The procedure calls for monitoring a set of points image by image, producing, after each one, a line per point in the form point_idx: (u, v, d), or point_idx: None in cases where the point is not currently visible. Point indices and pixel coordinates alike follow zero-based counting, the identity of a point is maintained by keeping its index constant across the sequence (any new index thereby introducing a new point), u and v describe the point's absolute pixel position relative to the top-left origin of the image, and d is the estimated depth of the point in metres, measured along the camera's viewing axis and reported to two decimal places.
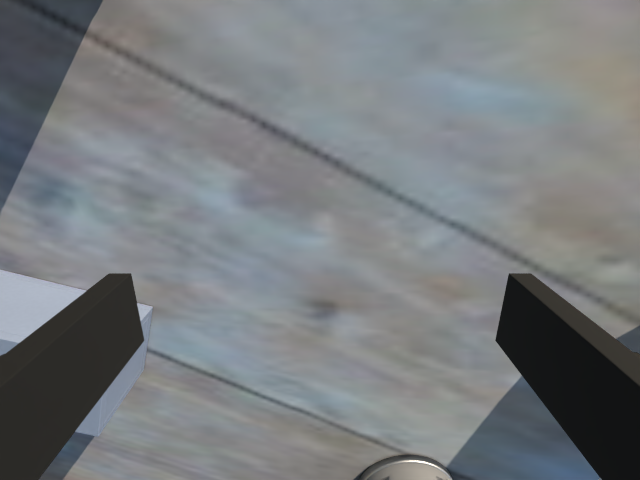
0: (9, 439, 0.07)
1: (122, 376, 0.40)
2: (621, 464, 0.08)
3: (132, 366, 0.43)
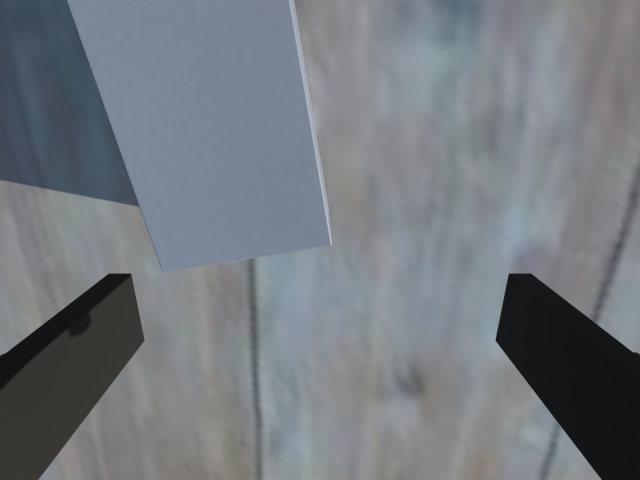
0: (9, 439, 0.07)
1: None
2: (621, 464, 0.08)
3: None
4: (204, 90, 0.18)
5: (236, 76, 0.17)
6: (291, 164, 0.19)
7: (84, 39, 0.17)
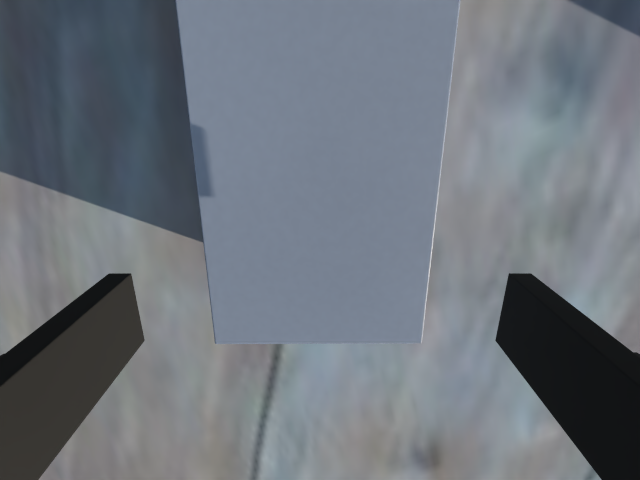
0: (9, 439, 0.07)
1: None
2: (621, 464, 0.08)
3: None
4: (321, 151, 0.14)
5: (364, 142, 0.14)
6: (401, 250, 0.16)
7: (188, 65, 0.13)
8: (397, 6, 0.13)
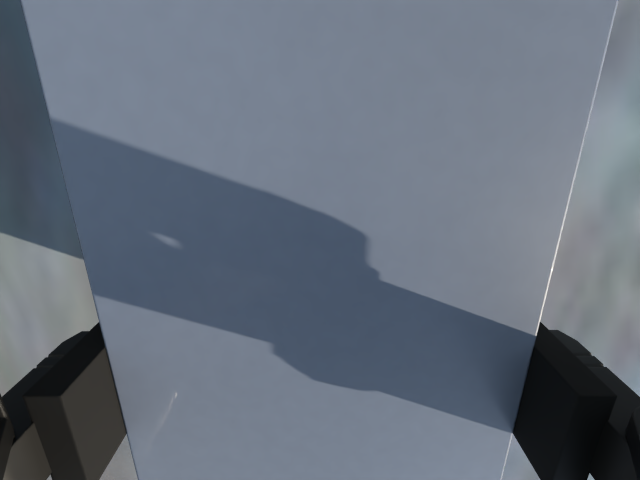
0: (103, 402, 0.08)
1: None
2: (530, 425, 0.09)
3: None
4: (326, 182, 0.07)
5: (415, 163, 0.07)
6: (474, 360, 0.08)
7: None
8: None
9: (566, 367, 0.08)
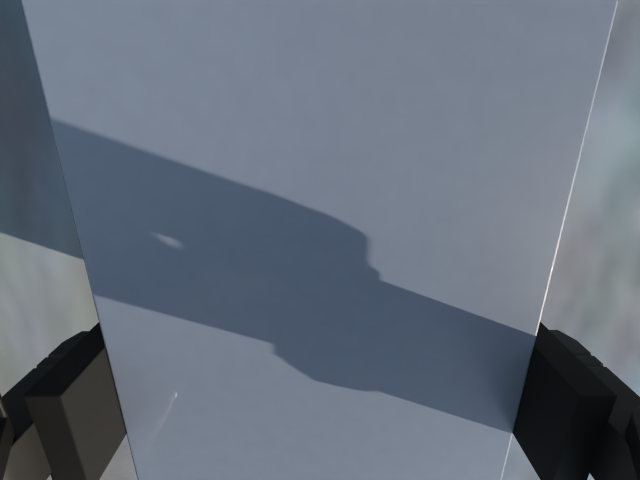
0: (104, 402, 0.08)
1: None
2: (530, 425, 0.09)
3: None
4: (326, 182, 0.07)
5: (415, 163, 0.07)
6: (474, 360, 0.08)
7: None
8: None
9: (566, 367, 0.08)
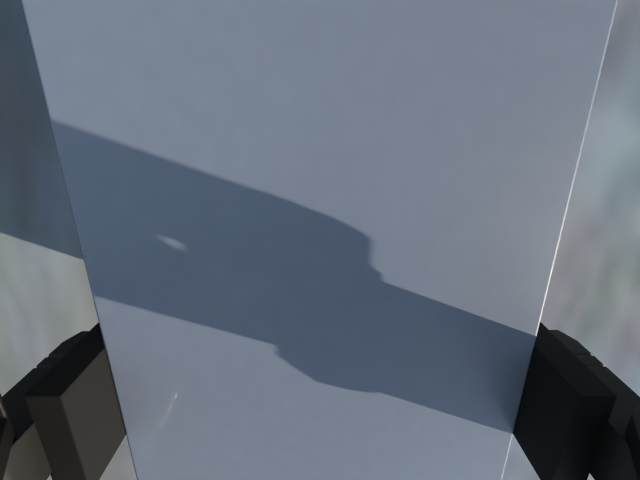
0: (104, 402, 0.08)
1: None
2: (530, 425, 0.09)
3: None
4: (325, 181, 0.07)
5: (415, 163, 0.07)
6: (474, 360, 0.08)
7: None
8: None
9: (566, 367, 0.08)
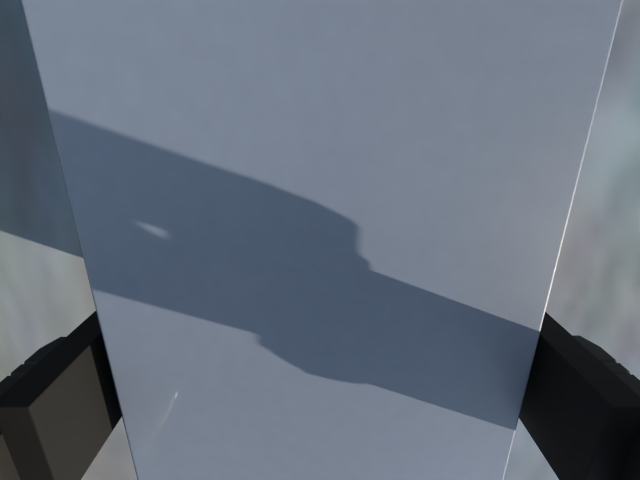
0: (78, 411, 0.08)
1: None
2: (555, 435, 0.08)
3: None
4: (327, 178, 0.07)
5: (417, 160, 0.07)
6: (476, 359, 0.08)
7: None
8: None
9: (595, 376, 0.07)
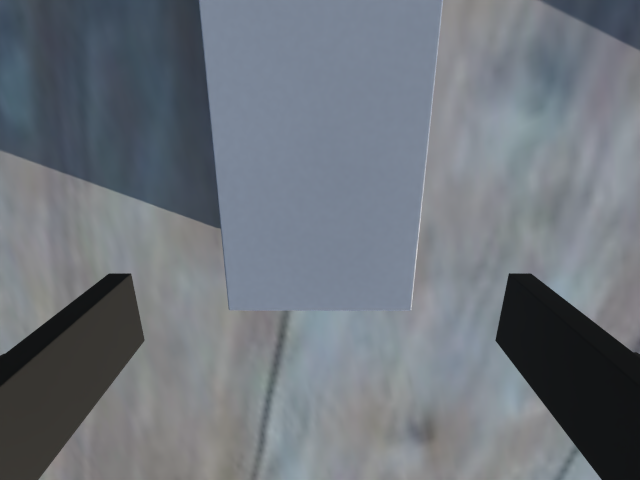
0: (9, 439, 0.07)
1: None
2: (621, 464, 0.08)
3: None
4: (322, 138, 0.16)
5: (360, 131, 0.16)
6: (392, 226, 0.18)
7: (209, 64, 0.15)
8: (388, 14, 0.15)
9: None
